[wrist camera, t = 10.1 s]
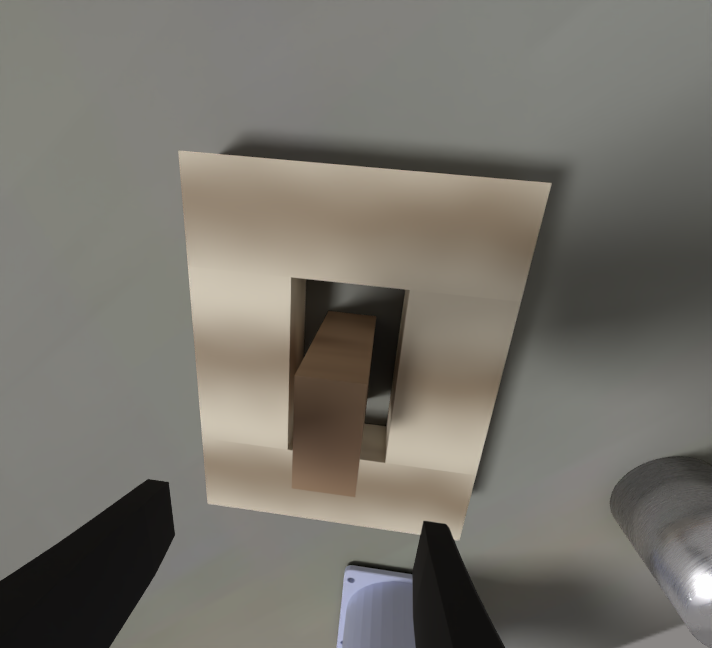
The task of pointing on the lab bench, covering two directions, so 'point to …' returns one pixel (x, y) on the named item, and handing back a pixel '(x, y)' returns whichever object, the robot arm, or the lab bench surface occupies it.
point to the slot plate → (364, 267)
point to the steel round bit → (672, 532)
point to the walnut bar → (332, 405)
